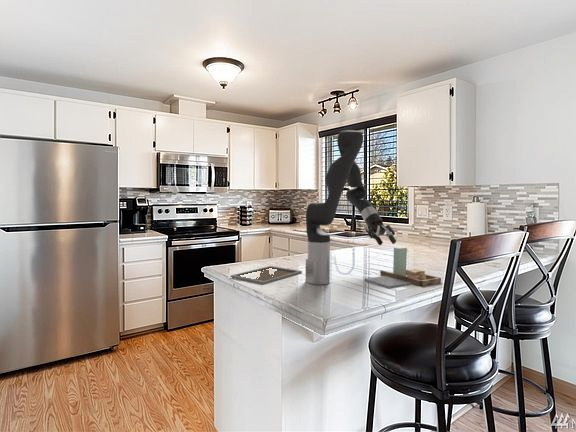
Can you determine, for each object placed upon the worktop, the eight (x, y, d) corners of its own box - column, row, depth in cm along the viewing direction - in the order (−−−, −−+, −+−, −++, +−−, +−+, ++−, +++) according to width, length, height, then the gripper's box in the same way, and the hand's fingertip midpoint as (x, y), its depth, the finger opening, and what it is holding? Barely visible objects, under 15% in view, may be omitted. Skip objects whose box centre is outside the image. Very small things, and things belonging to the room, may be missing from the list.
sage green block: (398, 277, 158) (398, 248, 157) (393, 276, 161) (393, 247, 160) (406, 276, 161) (406, 247, 160) (401, 274, 163) (401, 246, 162)
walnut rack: (421, 286, 143) (421, 281, 143) (380, 274, 163) (380, 270, 163) (440, 282, 149) (441, 278, 149) (398, 272, 169) (399, 268, 169)
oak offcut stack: (415, 283, 149) (415, 272, 148) (405, 280, 153) (405, 270, 153) (426, 281, 152) (426, 270, 152) (416, 278, 157) (417, 268, 156)
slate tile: (388, 288, 140) (388, 286, 140) (364, 280, 152) (364, 278, 152) (410, 284, 145) (410, 282, 145) (385, 277, 158) (385, 275, 158)
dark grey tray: (230, 275, 155) (273, 264, 179) (230, 279, 155) (273, 268, 179) (263, 282, 144) (305, 269, 168) (263, 286, 144) (305, 273, 168)
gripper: (364, 212, 170) (381, 239, 160) (386, 212, 177) (403, 237, 167) (356, 223, 175) (372, 249, 165) (378, 222, 182) (394, 247, 172)
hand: (388, 243), depth 166 cm, fingers open, 8 cm apart
